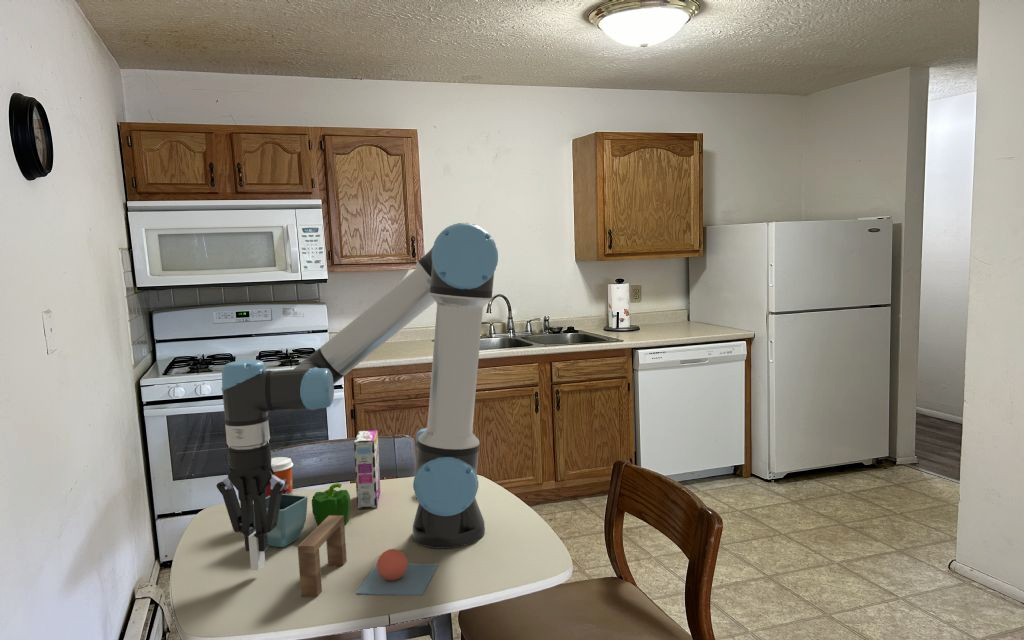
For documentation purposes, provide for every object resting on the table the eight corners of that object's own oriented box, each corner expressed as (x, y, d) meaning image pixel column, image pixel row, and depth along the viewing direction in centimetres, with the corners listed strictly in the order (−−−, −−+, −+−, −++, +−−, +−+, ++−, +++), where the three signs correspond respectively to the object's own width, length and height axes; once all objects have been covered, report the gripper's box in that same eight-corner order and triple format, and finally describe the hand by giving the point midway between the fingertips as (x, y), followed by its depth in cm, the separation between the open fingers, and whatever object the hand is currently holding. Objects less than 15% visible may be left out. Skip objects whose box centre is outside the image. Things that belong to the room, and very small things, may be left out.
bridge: (346, 561, 139) (343, 515, 138) (317, 596, 124) (314, 546, 123) (331, 560, 139) (328, 515, 138) (301, 596, 125) (297, 546, 124)
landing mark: (437, 565, 135) (437, 564, 135) (422, 595, 123) (422, 594, 123) (376, 564, 137) (376, 563, 137) (355, 594, 125) (355, 593, 125)
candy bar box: (378, 508, 168) (374, 440, 166) (356, 510, 167) (352, 442, 166) (381, 492, 179) (378, 429, 177) (361, 494, 178) (357, 430, 177)
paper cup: (290, 526, 158) (286, 465, 157) (256, 527, 158) (252, 466, 157) (301, 513, 166) (297, 455, 165) (269, 515, 166) (265, 456, 165)
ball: (395, 538, 132) (376, 558, 133) (386, 550, 127) (366, 571, 127) (416, 558, 132) (398, 578, 133) (408, 571, 126) (389, 592, 127)
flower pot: (311, 536, 152) (308, 495, 151) (285, 553, 144) (282, 510, 143) (277, 532, 155) (274, 492, 154) (250, 548, 147) (247, 506, 146)
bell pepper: (304, 533, 154) (301, 488, 153) (326, 519, 162) (323, 477, 161) (338, 537, 151) (335, 491, 150) (358, 522, 159) (355, 479, 158)
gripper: (204, 450, 128) (215, 575, 130) (272, 449, 126) (282, 576, 129) (226, 439, 136) (235, 558, 138) (291, 438, 134) (299, 559, 136)
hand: (258, 567), depth 133 cm, fingers closed
